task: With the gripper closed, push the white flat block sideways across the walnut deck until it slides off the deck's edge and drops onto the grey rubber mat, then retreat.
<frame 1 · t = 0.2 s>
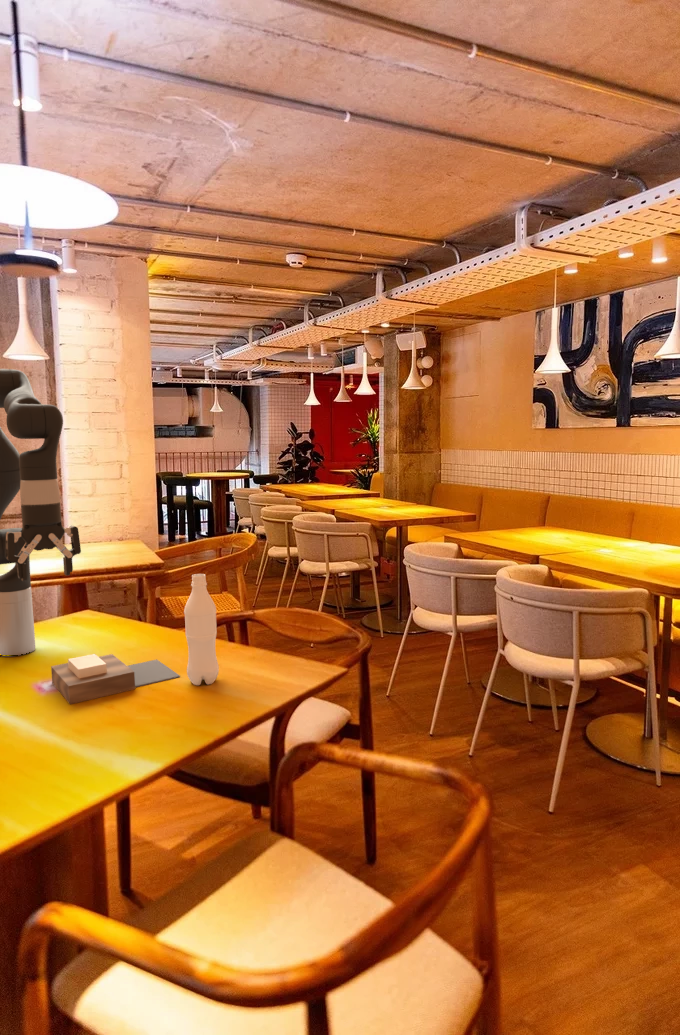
hand: (45, 577, 140), 27 cm above the table, fingers open, 8 cm apart
deck: (93, 685, 151), on the table
white flat block: (87, 669, 150), point 4 cm above the table, touching deck
water bottle: (203, 682, 152), on the table
mat: (146, 673, 159), on the table
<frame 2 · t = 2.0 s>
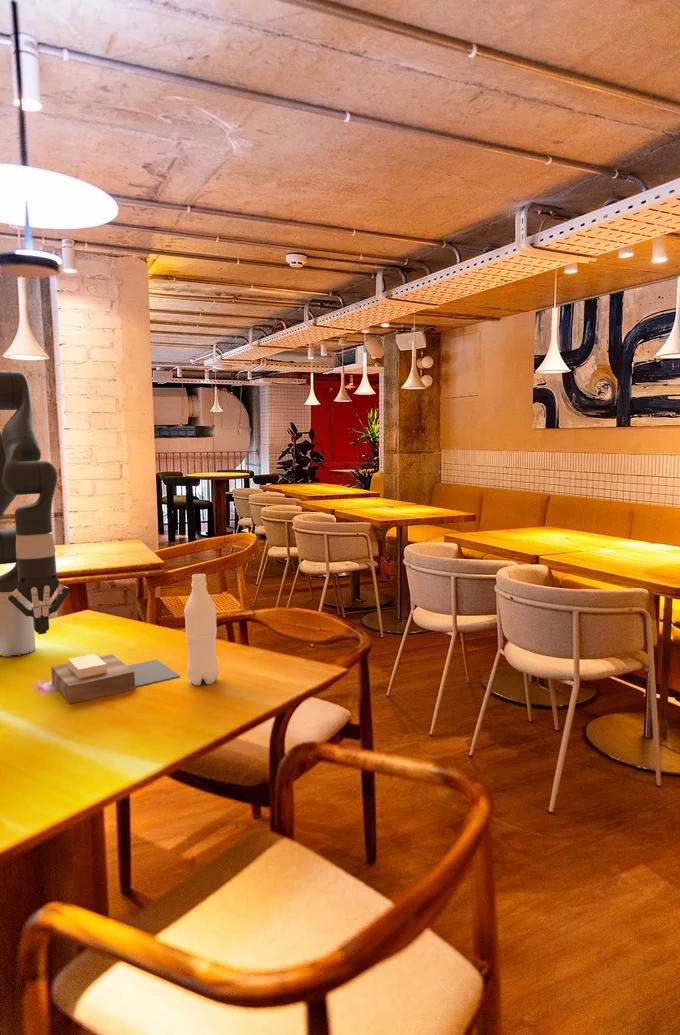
hand: (41, 633, 143), 14 cm above the table, fingers closed
nothing on the table moved.
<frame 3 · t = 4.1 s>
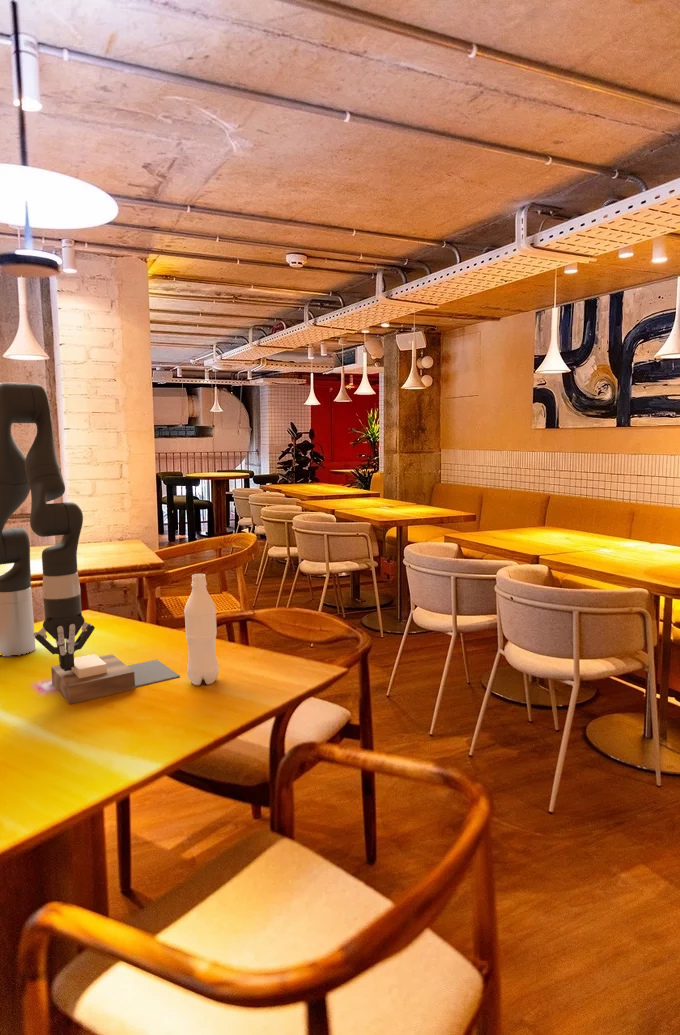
hand: (67, 669, 147), 5 cm above the table, fingers closed
white flat block: (87, 669, 150), point 4 cm above the table, touching deck, gripper
everything else where it was.
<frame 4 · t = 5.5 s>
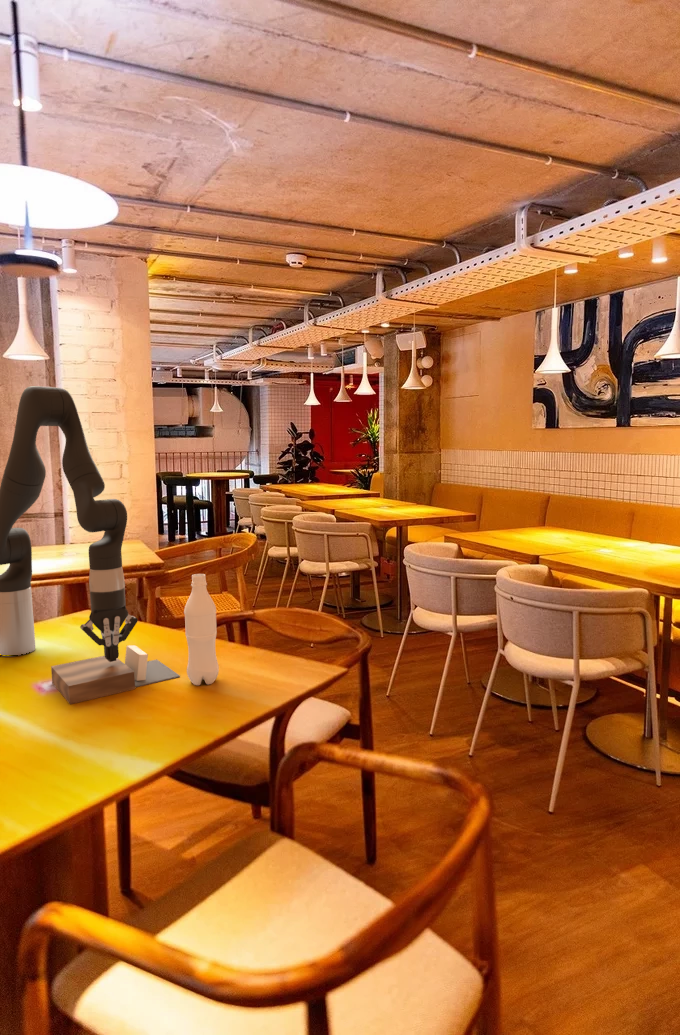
hand: (111, 660, 153), 5 cm above the table, fingers closed
white flat block: (131, 662, 155), point 4 cm above the table, tilted 99°, touching mat
everything else where it was.
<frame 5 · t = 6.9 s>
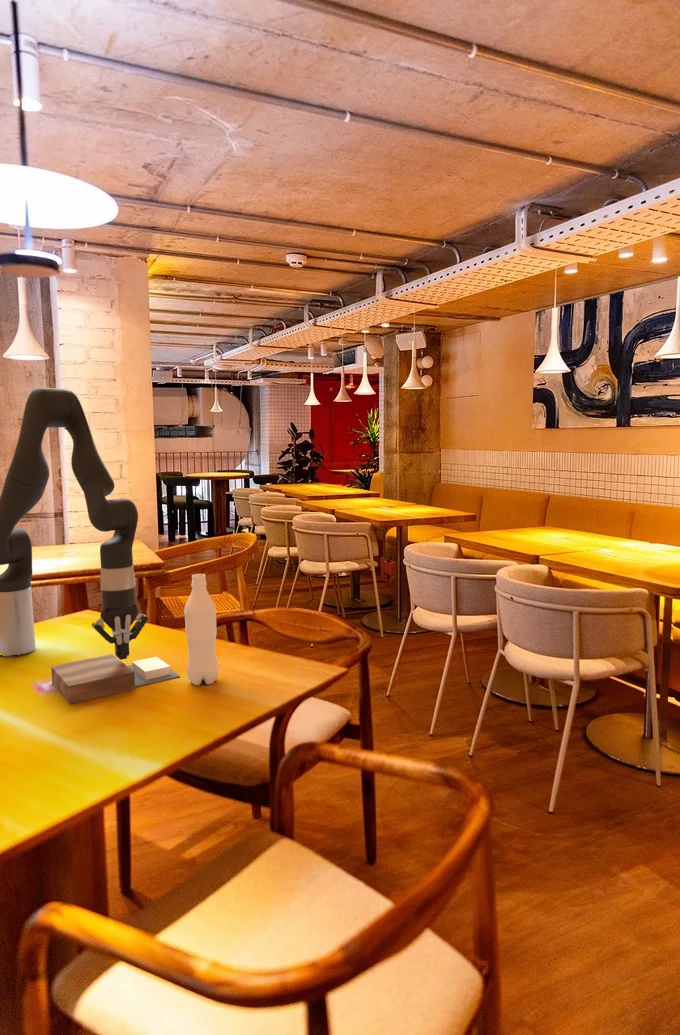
hand: (122, 658, 154), 5 cm above the table, fingers closed
white flat block: (150, 663, 158), point 2 cm above the table, tilted 180°, touching mat
everything else where it was.
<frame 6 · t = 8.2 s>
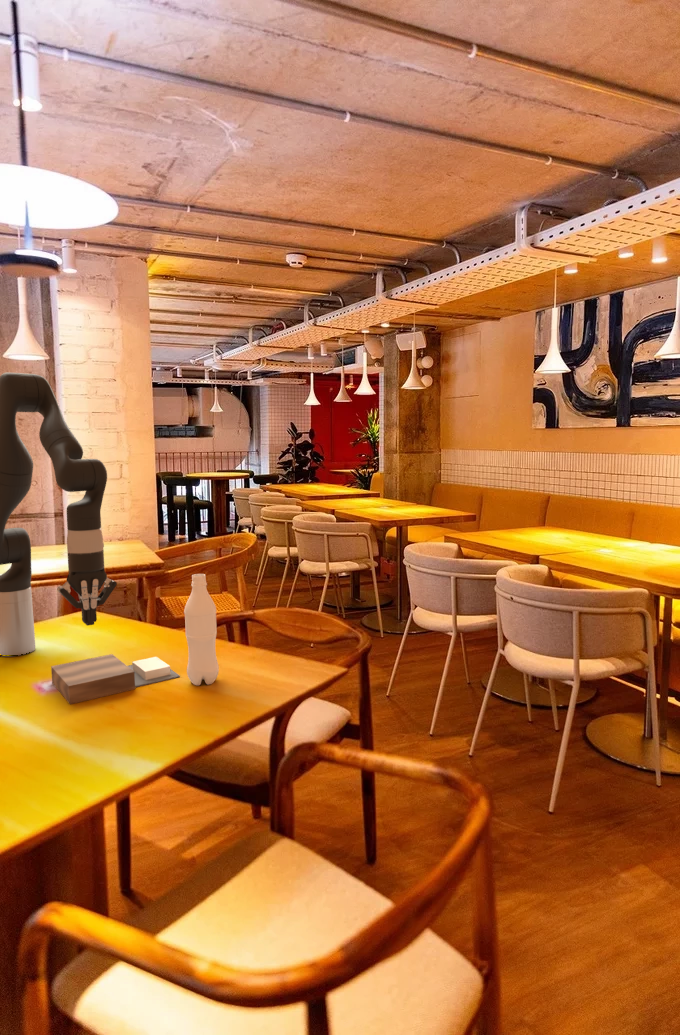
hand: (89, 624, 149), 14 cm above the table, fingers closed
nothing on the table moved.
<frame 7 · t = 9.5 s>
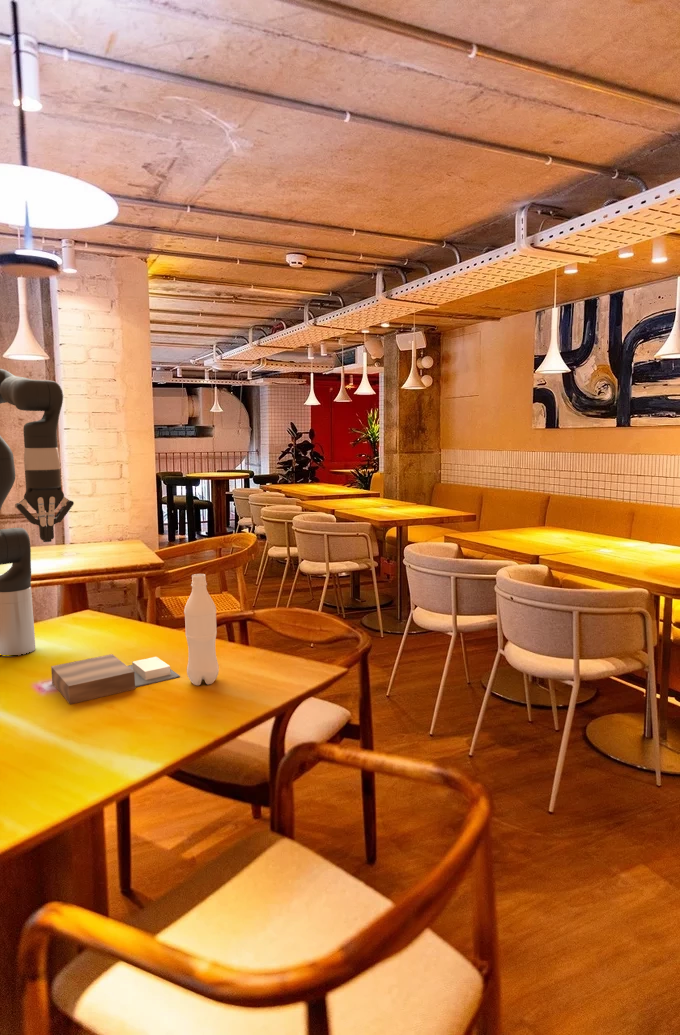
hand: (47, 541, 155), 32 cm above the table, fingers closed
nothing on the table moved.
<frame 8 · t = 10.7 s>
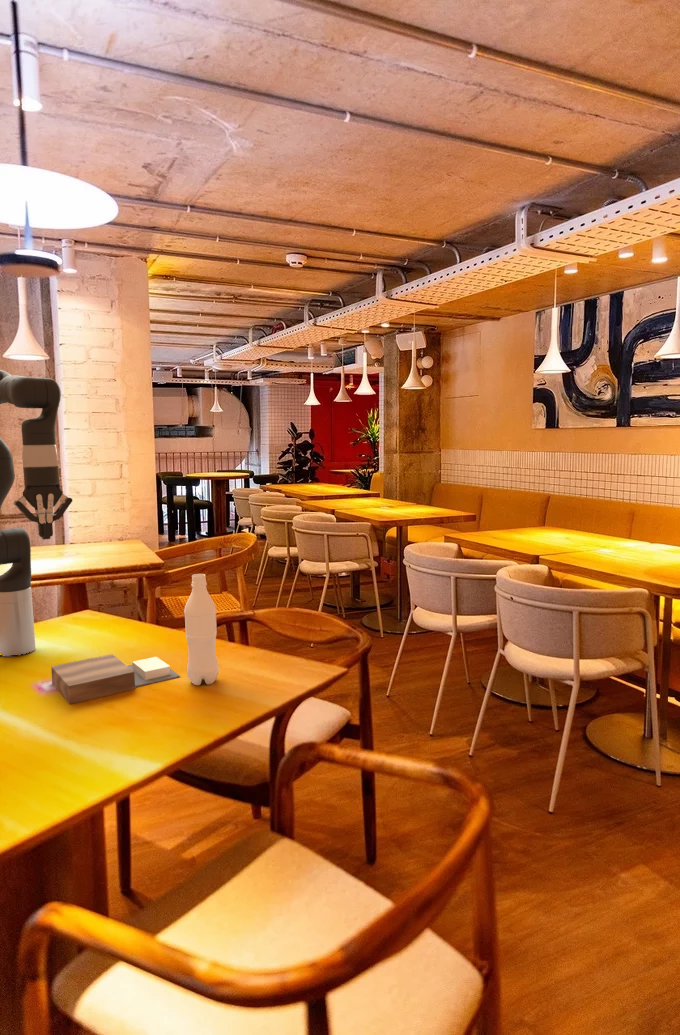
hand: (46, 538, 155), 33 cm above the table, fingers closed
nothing on the table moved.
at the end: white flat block point 2.3 cm above the table; white flat block inside the target area on the mat (1.1 cm from its centre), point 2.3 cm above the mat's base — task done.
